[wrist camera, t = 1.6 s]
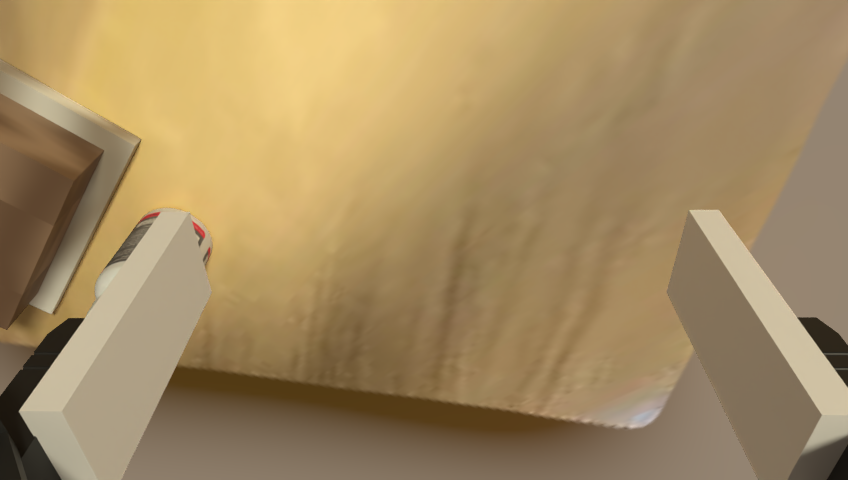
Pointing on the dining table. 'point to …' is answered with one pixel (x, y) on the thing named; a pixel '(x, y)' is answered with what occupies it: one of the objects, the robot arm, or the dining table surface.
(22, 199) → the socket block
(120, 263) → the pill bottle
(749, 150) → the dining table surface
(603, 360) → the dining table surface
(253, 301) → the dining table surface
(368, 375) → the dining table surface
